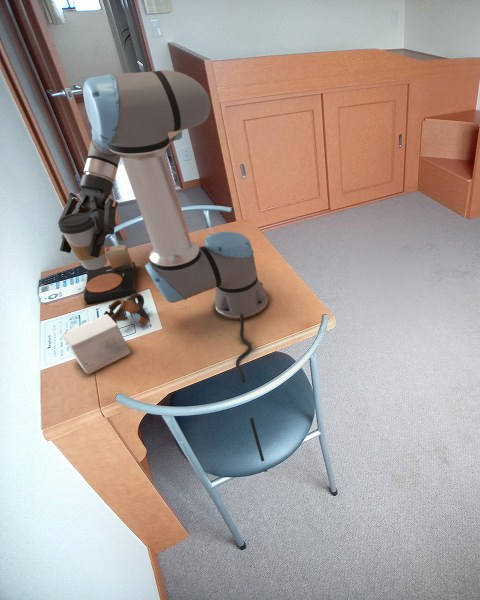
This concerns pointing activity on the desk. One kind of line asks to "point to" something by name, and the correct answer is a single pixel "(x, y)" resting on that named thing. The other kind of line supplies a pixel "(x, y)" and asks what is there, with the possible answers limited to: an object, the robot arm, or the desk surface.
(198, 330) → the desk surface
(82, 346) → the cosmetics box
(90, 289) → the warming ring
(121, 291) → the hotplate
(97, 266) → the coffee cup
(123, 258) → the cream block
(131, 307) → the pottery mug
